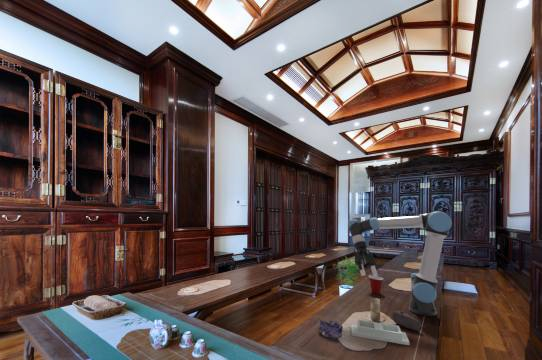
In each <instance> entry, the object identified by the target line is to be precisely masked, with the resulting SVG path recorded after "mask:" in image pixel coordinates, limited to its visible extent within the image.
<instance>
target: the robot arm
mask: <svg viewBox="0 0 542 360" xmlns="http://www.w3.org/2000/svg"><path fill="white" fill-rule="evenodd" d="M452 223H453V221H452V219H451V217H450V215H449V214H447V213H446V212H444V211H442V210H441V211H440V210H436V211H431V212H428V213H420V214H418V215H409V216H394V217H382V218H381V217H379V218H377V217H371V218H367V219H364V220H362V221H359V220H358V219H351V220H349V221H348V222H347V225H348V230H349V233H350V236H351V240H352V243H353V246H354V250H353V251H354V263H355V265H356V266H357V267H358V269H359V272H360V276H361V277H363V276H366V275H367V274H366V271H365V267H364V264H363V263H362V261H363V259H365V260H366V262H367V263H368V264H369V265H370V270H371V272H372V276H374V277H376V276H378V277H379V274H378V271H377V269H376V266H377V262H376V261H375V259H374V257H373V256H372V254H371V252H370V250H367V247H368V246H367V243H366V239H365V236H364V234H363V233H366V232H370V231H373V230H388V229H389V230H390V229H413V228H421V229H424V232H425V233H426V238H425V241H424V242H425V244H424V247H423V252H422V257H421V262H420V266H419V269H418V270H419V271H418V272H417V273H415V272H414V273H410V274H411V275H410V283H411V284H410V285H411V286H410V287H411V298H410V301H409V304H408V310H409V311H410V312H412V313H414V314H417V315H420V316H425V317H435V316H437V309H436V306H435V302H434V301H436V299H437V294H438V293H437V288H438V283H439V282H438V280H437V277H436V276H437V272H438V267H439V263H440V258H441V253H442V248H443V244H444V239H445V238H448V236H449V230H450V229H451V227H452V225H453V224H452Z"/></svg>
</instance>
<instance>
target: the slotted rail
mask: <svg viewBox="0 0 542 360" xmlns="http://www.w3.org/2000/svg"><path fill="white" fill-rule="evenodd" d="M351 336H353V337H359V338H365V339H371V340H377V341H381V342H387V343H388V342H389V343H393V344H394V343H395V344H399V345H404V346H405V345H406V346H410V340H409V338H408V334H407V333H406V332H404V331H402V330H401V328H400V325H398V324H396V325H395V324H389V323H382V322H380V323H377V322H372V321H371V320H370V321H369V320H362V319H359V318H358V319H357V324H353V323H351Z"/></svg>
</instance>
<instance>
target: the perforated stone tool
mask: <svg viewBox="0 0 542 360" xmlns="http://www.w3.org/2000/svg"><path fill="white" fill-rule="evenodd" d="M392 320H393V322H394V323H395V324H396V325H398V326H399V327H400V326H401V327H402V328H403V327H404V328H406V329H409V330H412V331H416V332H420V331H421V330H422V329H423V327H422V324H421V322H420V321H419V320H418V319H416V318H415V317H413V316H412V315H409V314H407V313H406V312H403V311H400V310H394V311H393V312H392Z"/></svg>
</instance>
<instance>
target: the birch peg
mask: <svg viewBox="0 0 542 360" xmlns="http://www.w3.org/2000/svg"><path fill="white" fill-rule="evenodd" d="M371 320H372V321H371ZM370 321H371V322H377V323H381V299H380V298H377V297H371V298H370Z"/></svg>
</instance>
